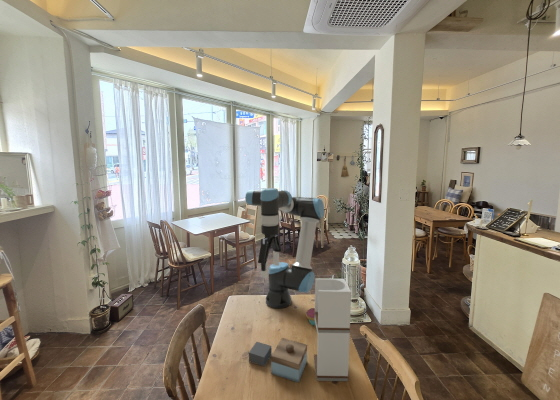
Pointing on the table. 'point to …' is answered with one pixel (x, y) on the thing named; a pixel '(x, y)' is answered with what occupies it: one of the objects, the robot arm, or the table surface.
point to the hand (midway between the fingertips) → (270, 271)
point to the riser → (260, 353)
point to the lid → (289, 353)
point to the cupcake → (311, 316)
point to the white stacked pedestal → (332, 329)
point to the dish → (288, 370)
